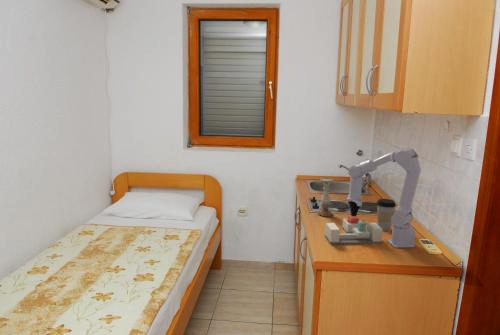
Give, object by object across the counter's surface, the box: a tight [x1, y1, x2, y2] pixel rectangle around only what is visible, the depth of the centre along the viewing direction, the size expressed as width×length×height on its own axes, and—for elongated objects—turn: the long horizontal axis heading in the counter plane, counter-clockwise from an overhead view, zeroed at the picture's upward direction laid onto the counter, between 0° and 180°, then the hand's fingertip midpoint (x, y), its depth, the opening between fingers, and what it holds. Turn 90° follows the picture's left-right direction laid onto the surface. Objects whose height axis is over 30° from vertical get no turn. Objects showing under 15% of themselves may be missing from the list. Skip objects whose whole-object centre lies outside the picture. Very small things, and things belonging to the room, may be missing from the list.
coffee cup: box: [375, 198, 397, 232], centre depth 200 cm, size 9×9×15 cm
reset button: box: [347, 215, 360, 224], centre depth 197 cm, size 4×4×4 cm
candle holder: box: [316, 177, 334, 217], centre depth 222 cm, size 9×9×20 cm
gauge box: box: [341, 218, 361, 234], centre depth 198 cm, size 8×8×5 cm
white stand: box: [324, 222, 383, 246], centre depth 185 cm, size 24×10×7 cm, turn 94°
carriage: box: [352, 220, 370, 238], centre depth 185 cm, size 6×7×7 cm
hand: (353, 215), depth 197 cm, fingers closed
